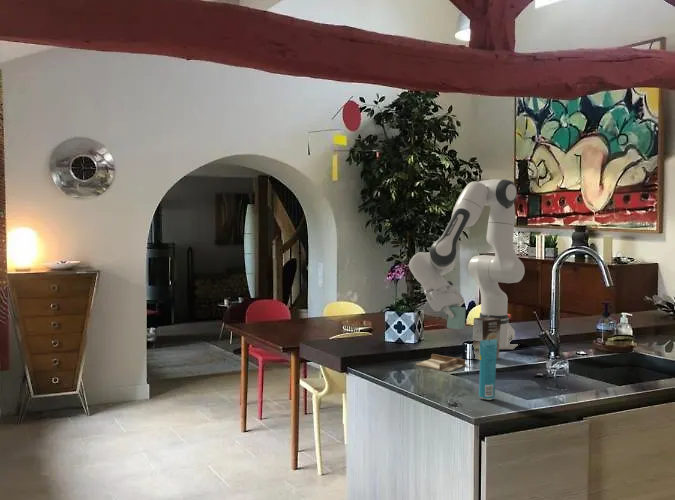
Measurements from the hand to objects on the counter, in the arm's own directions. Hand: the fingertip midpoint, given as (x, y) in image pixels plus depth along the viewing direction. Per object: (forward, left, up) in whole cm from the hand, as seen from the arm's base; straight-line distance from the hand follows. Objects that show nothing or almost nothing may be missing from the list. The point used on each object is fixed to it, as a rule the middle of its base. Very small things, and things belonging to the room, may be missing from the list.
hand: (457, 316), depth 277 cm
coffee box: (-14, +6, -18) cm, 23 cm away
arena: (+9, -1, -18) cm, 20 cm away
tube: (+38, +32, -18) cm, 53 cm away
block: (0, -1, -5) cm, 5 cm away
